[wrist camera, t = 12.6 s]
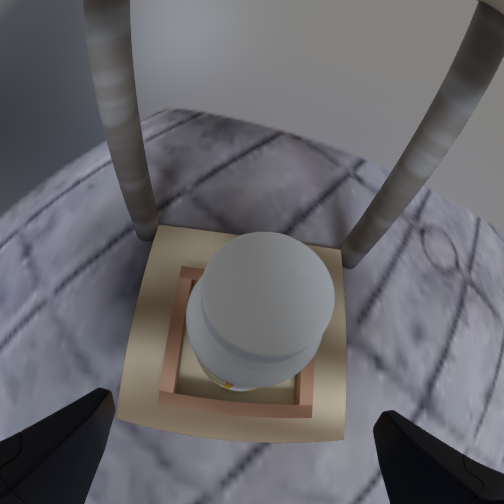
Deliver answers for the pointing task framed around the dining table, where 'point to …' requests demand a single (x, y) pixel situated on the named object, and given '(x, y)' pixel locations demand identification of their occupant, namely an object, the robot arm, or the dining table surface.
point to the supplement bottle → (259, 311)
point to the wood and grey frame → (207, 242)
